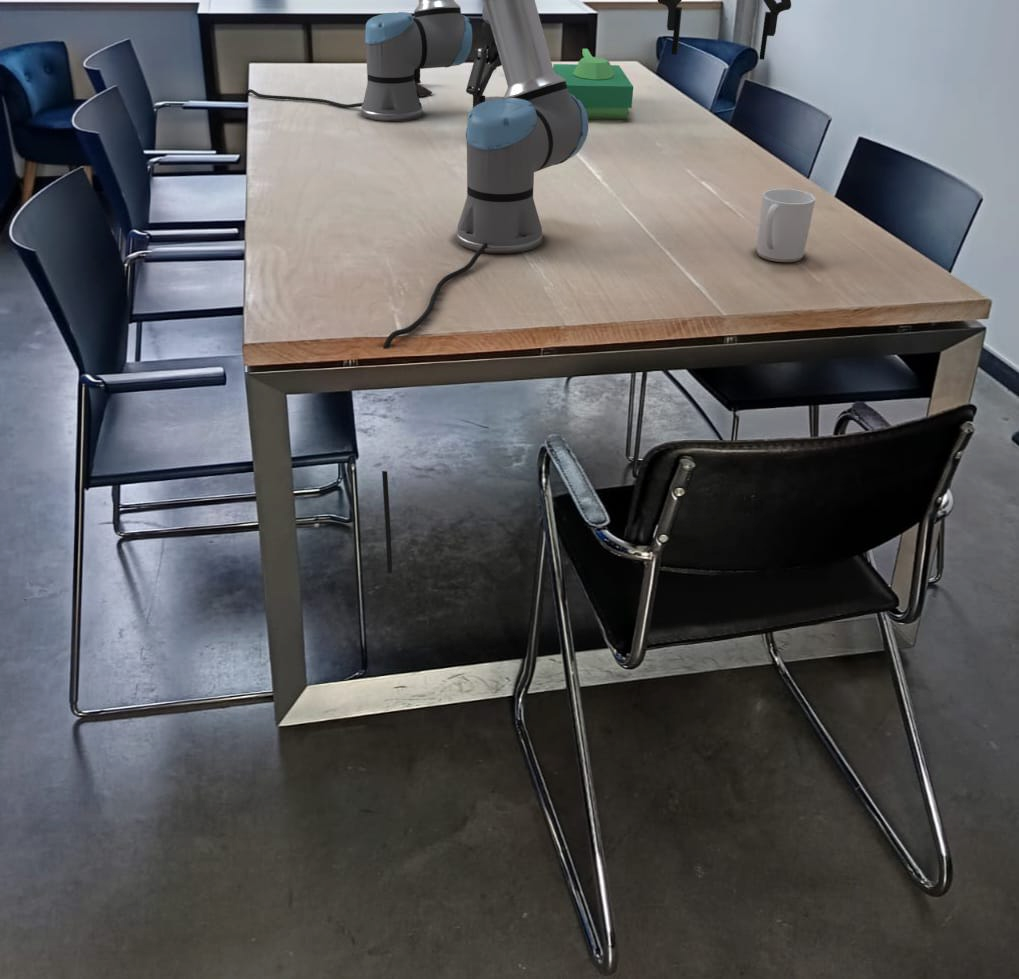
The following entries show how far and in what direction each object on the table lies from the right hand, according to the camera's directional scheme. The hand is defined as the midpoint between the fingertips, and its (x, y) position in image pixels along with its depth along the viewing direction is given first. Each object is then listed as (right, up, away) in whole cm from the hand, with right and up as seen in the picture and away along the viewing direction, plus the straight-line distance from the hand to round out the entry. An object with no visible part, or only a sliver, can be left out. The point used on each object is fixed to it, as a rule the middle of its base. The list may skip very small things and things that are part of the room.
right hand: (717, 55), depth 172 cm
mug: (+14, -28, +19) cm, 36 cm away
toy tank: (-12, +33, +117) cm, 122 cm away
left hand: (-36, +18, +84) cm, 93 cm away
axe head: (-62, +41, +128) cm, 148 cm away
